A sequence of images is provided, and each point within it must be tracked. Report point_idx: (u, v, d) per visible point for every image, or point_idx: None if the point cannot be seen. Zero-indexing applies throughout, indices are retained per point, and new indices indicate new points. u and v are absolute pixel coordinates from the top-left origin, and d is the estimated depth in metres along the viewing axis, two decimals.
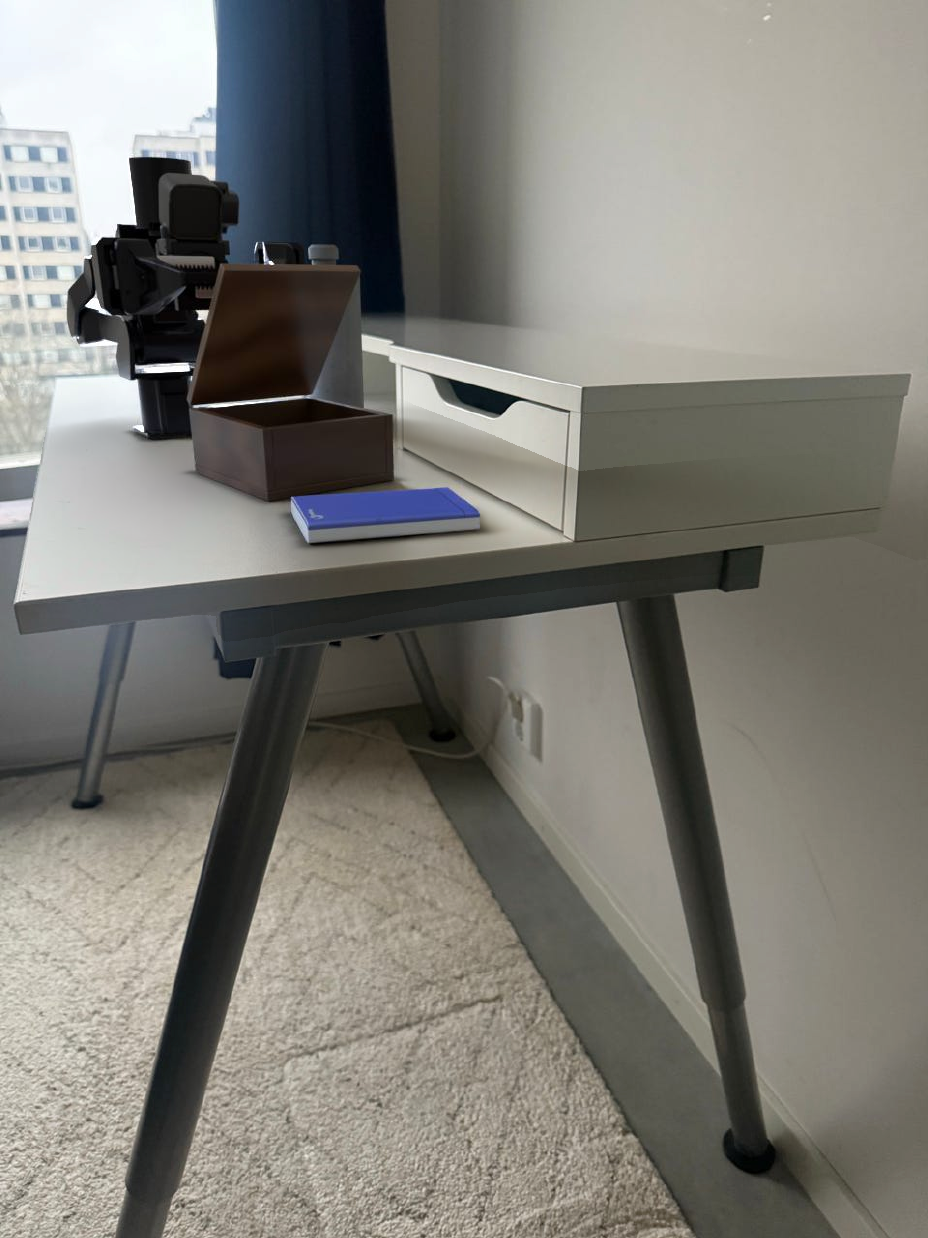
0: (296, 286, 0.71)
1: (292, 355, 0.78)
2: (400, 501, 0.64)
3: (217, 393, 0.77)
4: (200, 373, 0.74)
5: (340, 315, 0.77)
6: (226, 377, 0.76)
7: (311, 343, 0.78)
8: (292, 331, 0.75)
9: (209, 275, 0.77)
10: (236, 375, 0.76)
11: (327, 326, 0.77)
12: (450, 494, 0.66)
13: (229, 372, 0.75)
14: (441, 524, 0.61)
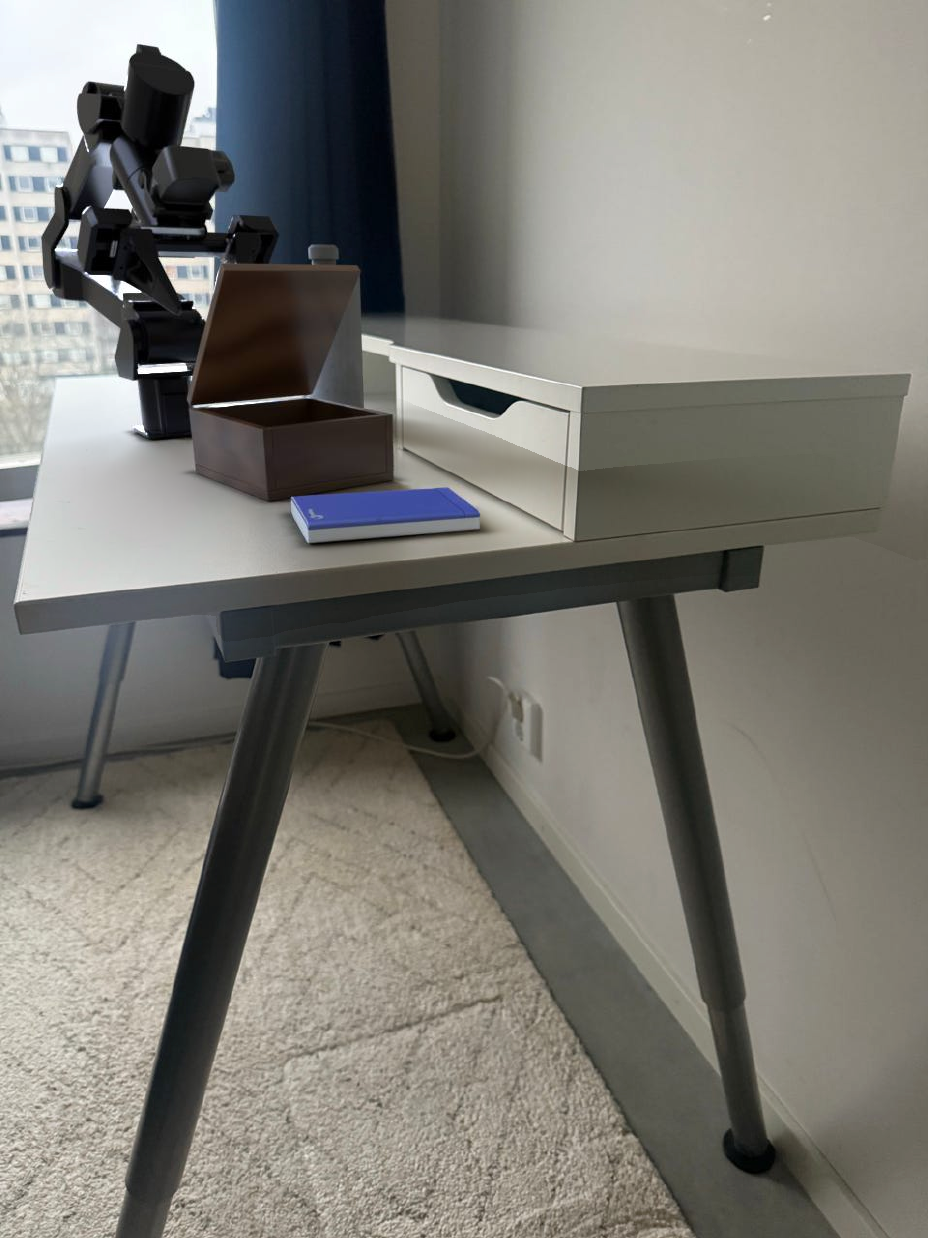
0: (296, 286, 0.71)
1: (292, 355, 0.78)
2: (400, 501, 0.64)
3: (217, 393, 0.77)
4: (200, 373, 0.74)
5: (340, 315, 0.77)
6: (226, 377, 0.76)
7: (311, 343, 0.78)
8: (292, 331, 0.75)
9: (186, 246, 0.83)
10: (236, 375, 0.76)
11: (327, 326, 0.77)
12: (450, 494, 0.66)
13: (229, 372, 0.75)
14: (441, 524, 0.61)
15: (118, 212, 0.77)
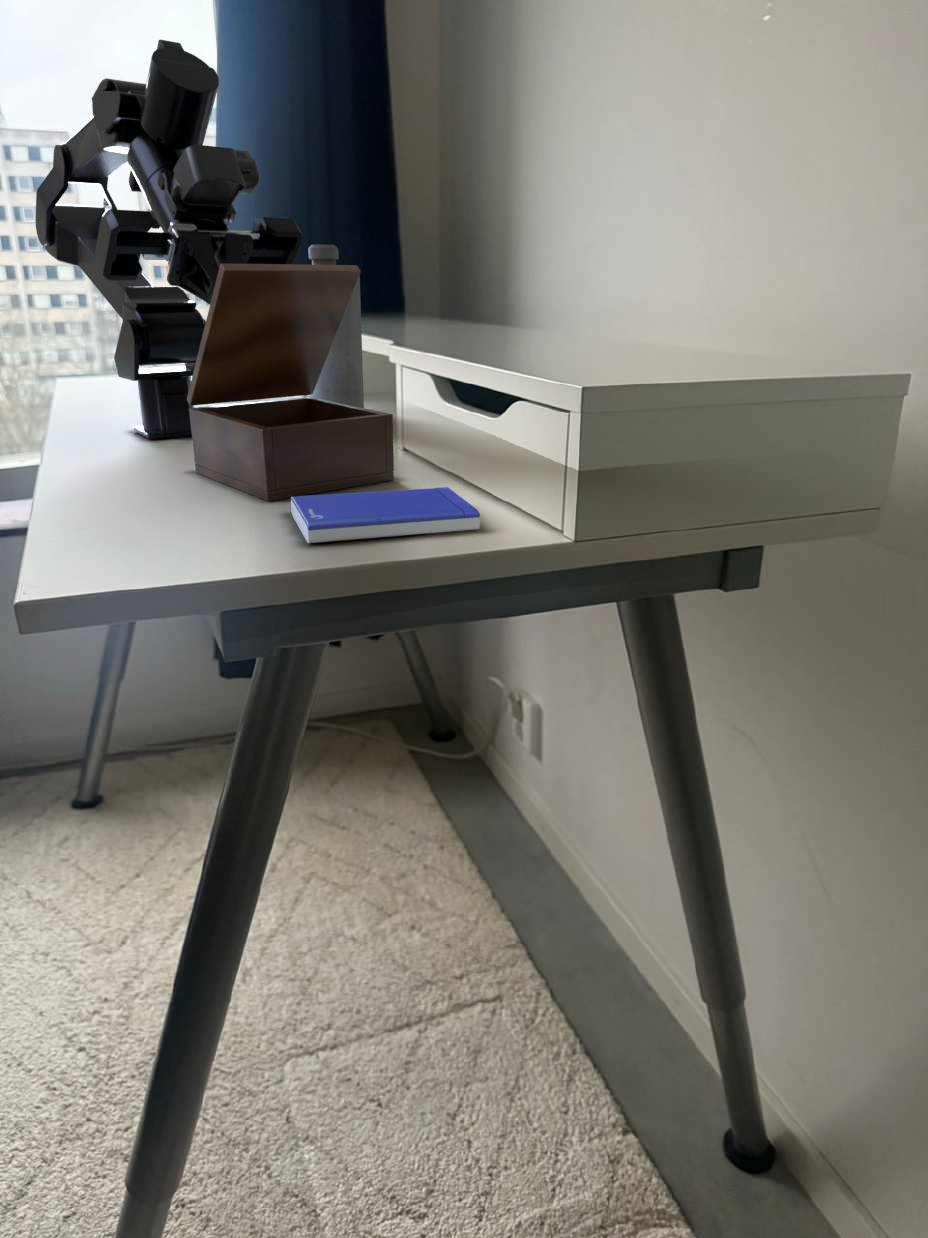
0: (296, 286, 0.71)
1: (292, 355, 0.78)
2: (400, 501, 0.64)
3: (217, 393, 0.77)
4: (200, 373, 0.74)
5: (340, 315, 0.77)
6: (226, 377, 0.76)
7: (311, 343, 0.78)
8: (292, 331, 0.75)
9: None
10: (236, 375, 0.76)
11: (327, 326, 0.77)
12: (450, 494, 0.66)
13: (229, 372, 0.75)
14: (441, 524, 0.61)
15: (139, 214, 0.74)
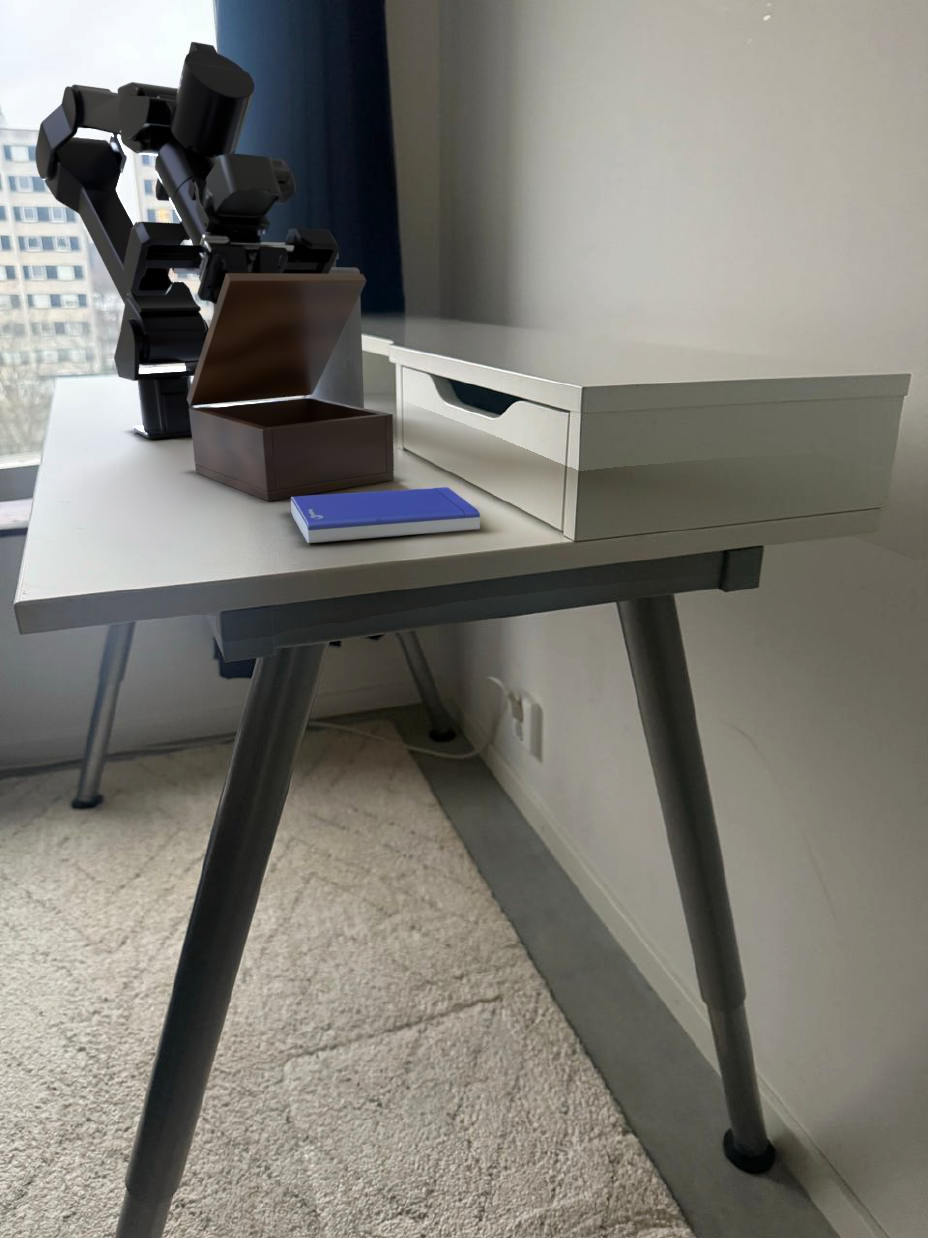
0: (301, 295, 0.71)
1: (294, 359, 0.78)
2: (400, 501, 0.64)
3: (217, 394, 0.77)
4: (201, 376, 0.74)
5: (343, 321, 0.76)
6: (227, 379, 0.76)
7: (313, 347, 0.78)
8: (295, 337, 0.75)
9: None
10: (237, 377, 0.76)
11: (330, 331, 0.77)
12: (450, 494, 0.66)
13: (230, 375, 0.75)
14: (441, 524, 0.61)
15: (170, 227, 0.70)
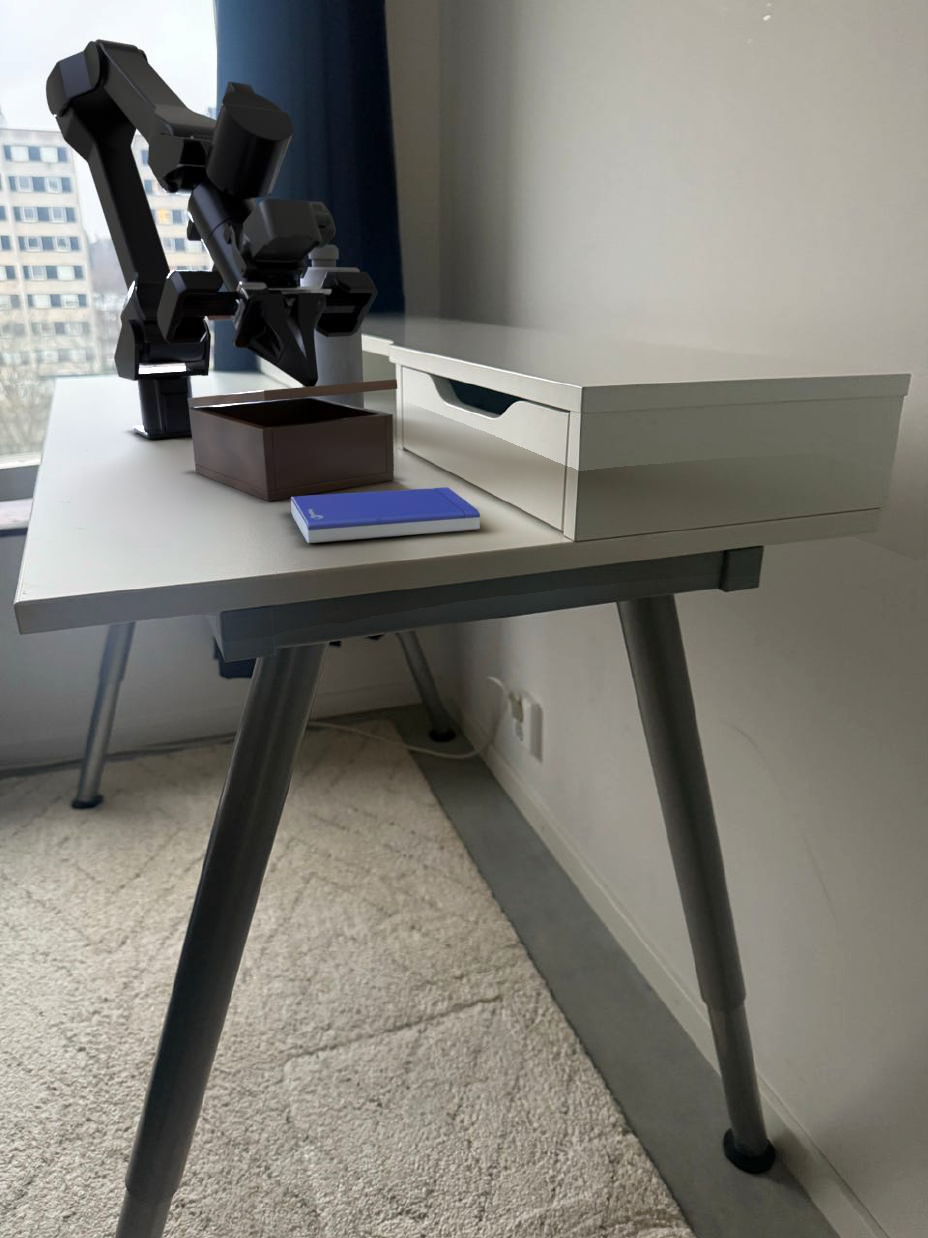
0: None
1: None
2: (400, 501, 0.64)
3: None
4: (209, 405, 0.74)
5: None
6: None
7: None
8: None
9: None
10: None
11: None
12: (450, 494, 0.66)
13: None
14: (441, 524, 0.61)
15: (207, 275, 0.67)
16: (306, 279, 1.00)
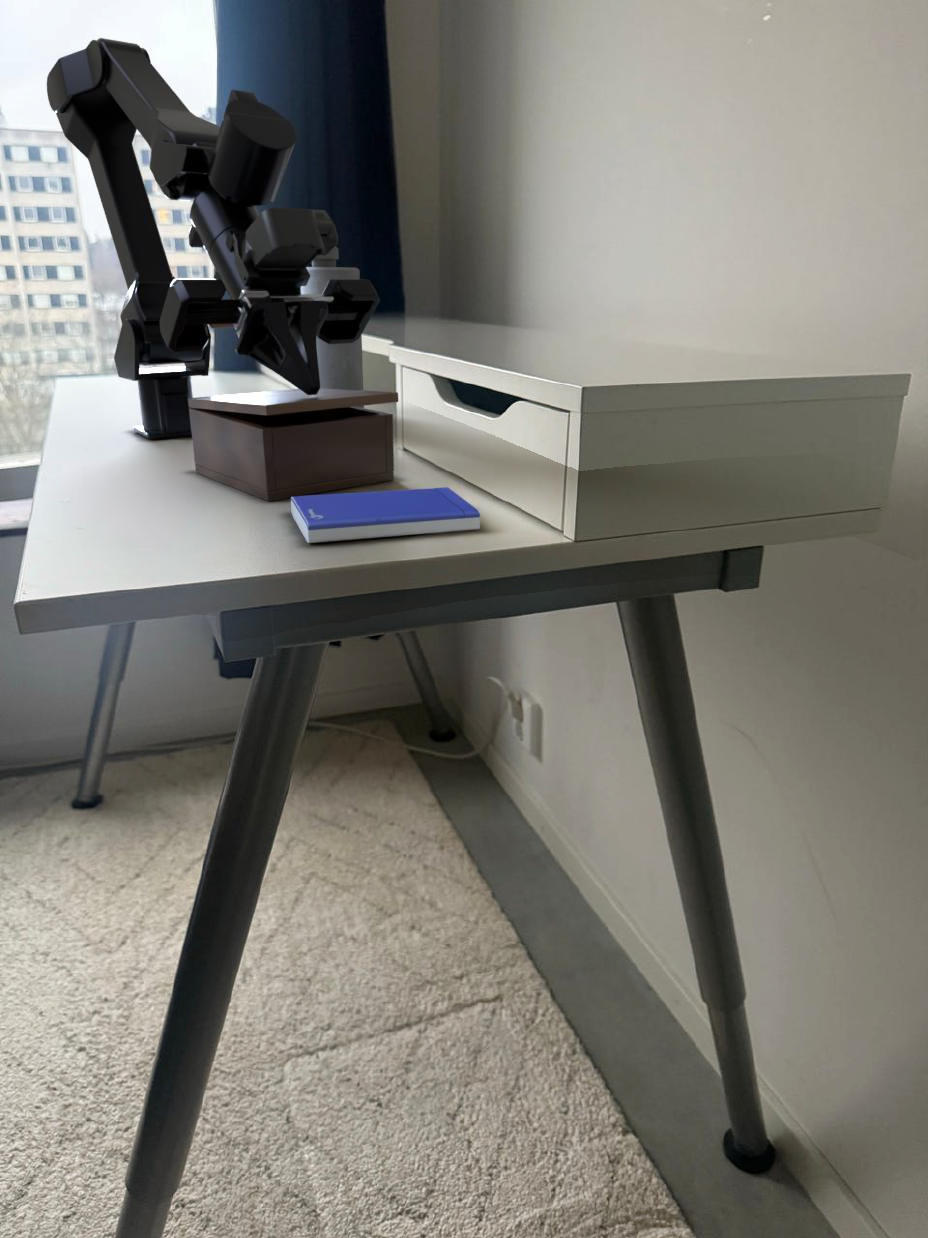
0: None
1: None
2: (400, 501, 0.64)
3: None
4: (209, 409, 0.74)
5: None
6: None
7: None
8: None
9: None
10: None
11: None
12: (450, 494, 0.66)
13: None
14: (441, 524, 0.61)
15: (210, 283, 0.68)
16: None
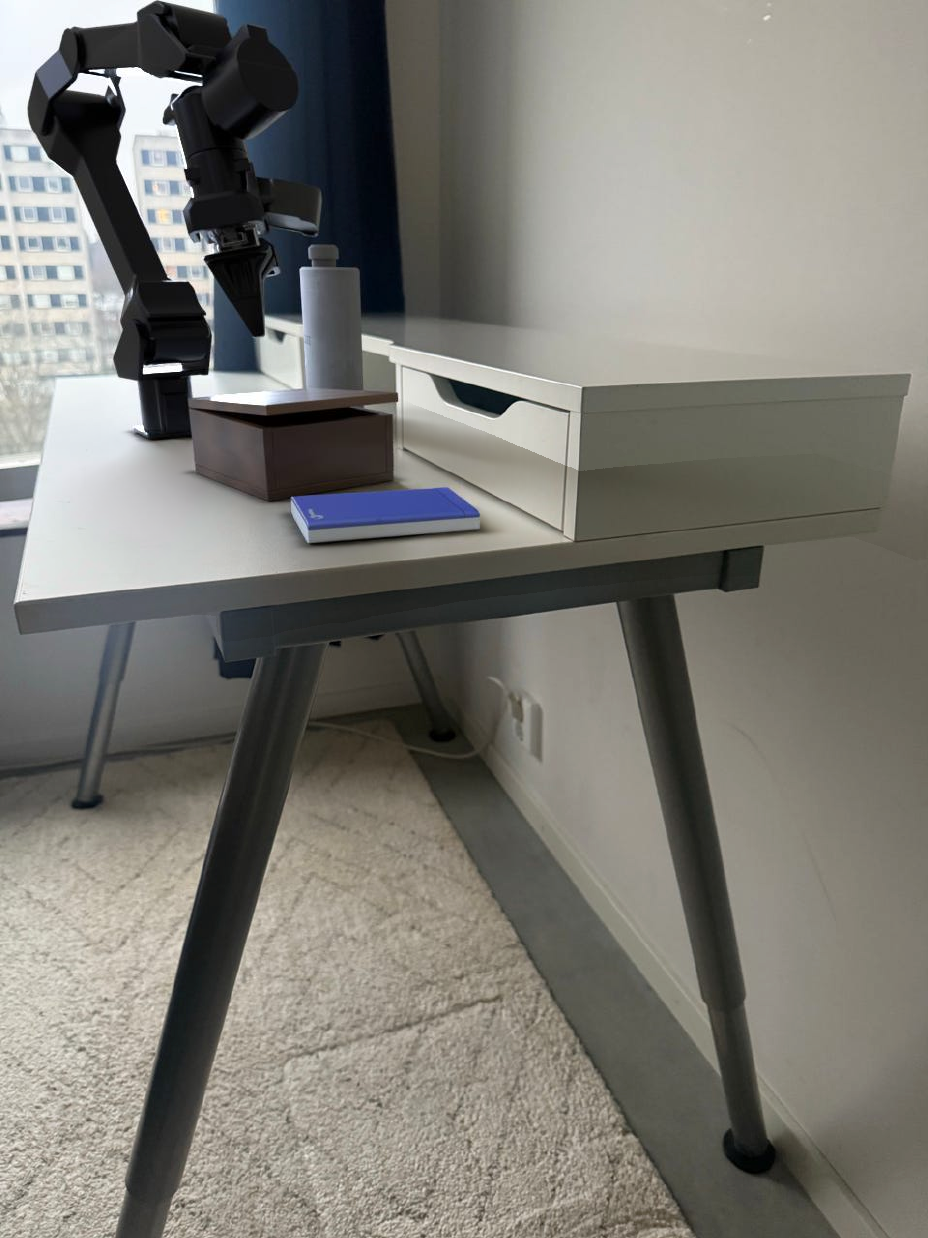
0: None
1: None
2: (400, 501, 0.64)
3: None
4: (209, 409, 0.74)
5: None
6: None
7: None
8: None
9: None
10: None
11: None
12: (450, 494, 0.66)
13: None
14: (441, 524, 0.61)
15: (261, 212, 0.73)
16: (306, 279, 1.00)
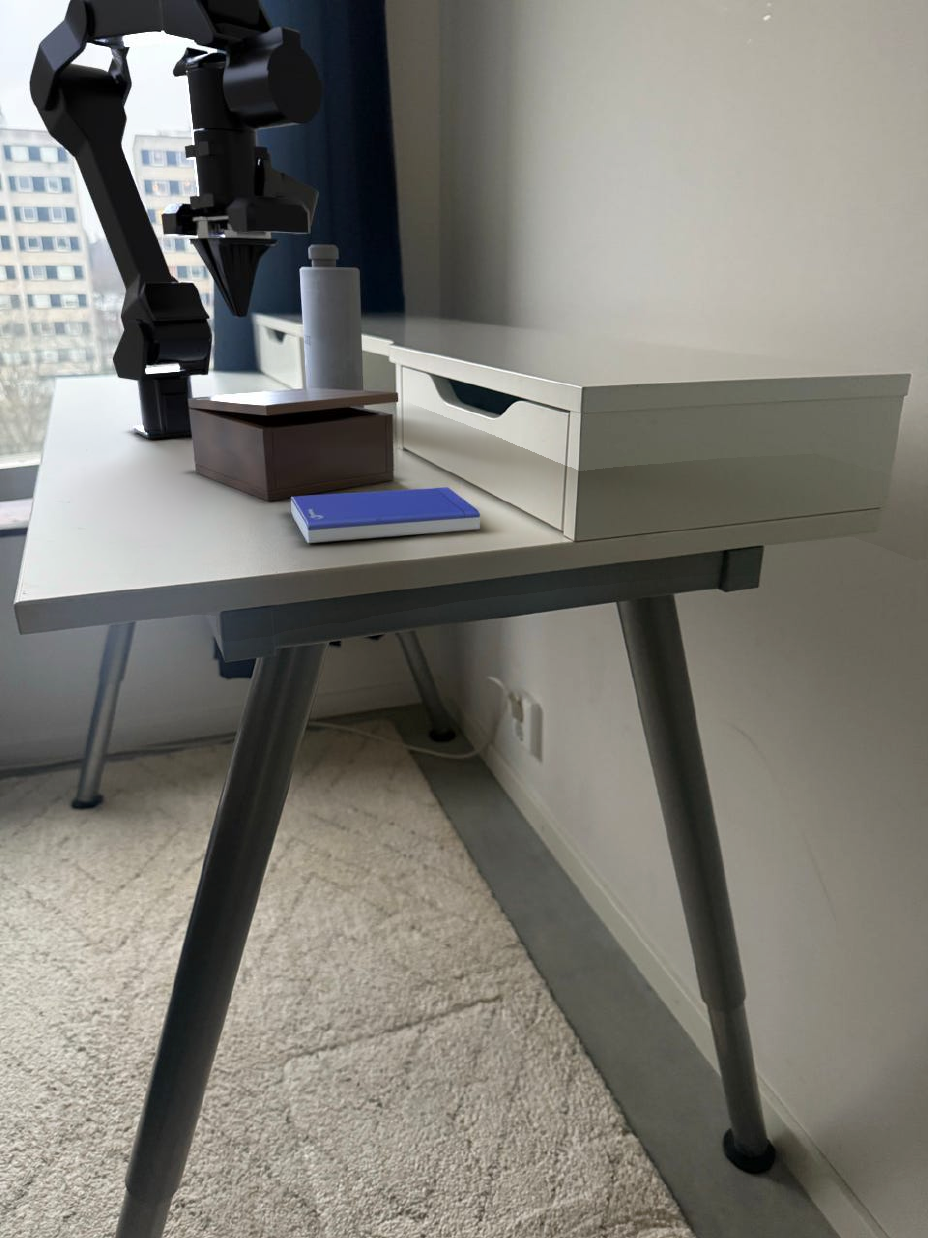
0: None
1: None
2: (400, 501, 0.64)
3: None
4: (209, 409, 0.74)
5: None
6: None
7: None
8: None
9: None
10: None
11: None
12: (450, 494, 0.66)
13: None
14: (441, 524, 0.61)
15: None
16: (306, 279, 1.00)
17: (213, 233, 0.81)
